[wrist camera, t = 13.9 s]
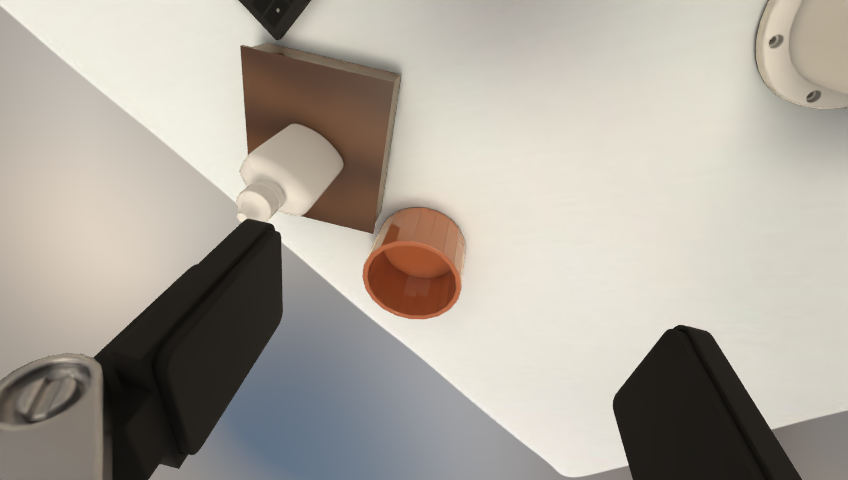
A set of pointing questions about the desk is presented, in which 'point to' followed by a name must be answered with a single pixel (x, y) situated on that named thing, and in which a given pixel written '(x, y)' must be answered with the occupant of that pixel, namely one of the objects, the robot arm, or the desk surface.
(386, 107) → the walnut box
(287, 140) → the eye dropper bottle
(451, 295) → the pencil cup
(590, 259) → the desk surface
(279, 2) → the calculator
